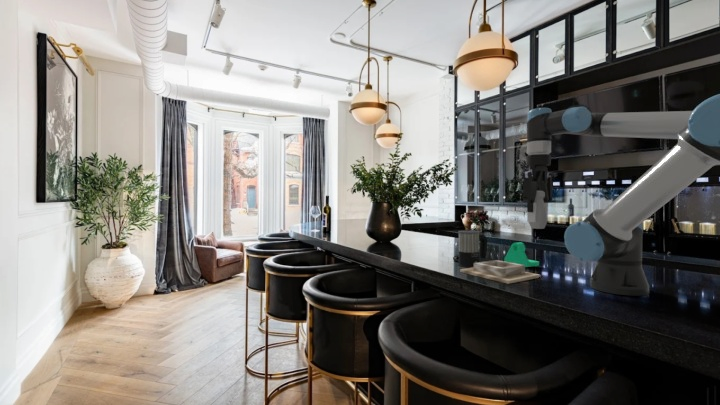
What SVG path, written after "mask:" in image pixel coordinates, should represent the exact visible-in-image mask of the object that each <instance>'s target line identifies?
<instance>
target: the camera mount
mask: <svg viewBox="0 0 720 405" xmlns="http://www.w3.org/2000/svg"><path fill="white" fill-rule="evenodd" d="M525 251H526V245H525V243H523V242H522V241H521V242H513V243H512V244H511V246H510V248H509V249H508V251H507V253H506V255H505V257H504V259H503V260H504V261H505V262H510V263H516V264H521V265H525V268H528V267H529V268H530V267H538V266H540V261H537V260H533V259H528V256H527V255H526V253H525Z"/></svg>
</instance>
